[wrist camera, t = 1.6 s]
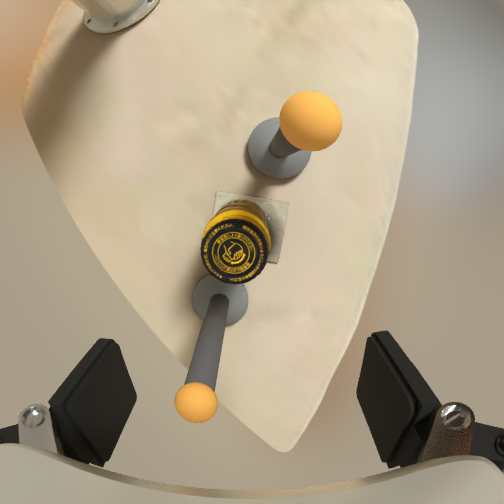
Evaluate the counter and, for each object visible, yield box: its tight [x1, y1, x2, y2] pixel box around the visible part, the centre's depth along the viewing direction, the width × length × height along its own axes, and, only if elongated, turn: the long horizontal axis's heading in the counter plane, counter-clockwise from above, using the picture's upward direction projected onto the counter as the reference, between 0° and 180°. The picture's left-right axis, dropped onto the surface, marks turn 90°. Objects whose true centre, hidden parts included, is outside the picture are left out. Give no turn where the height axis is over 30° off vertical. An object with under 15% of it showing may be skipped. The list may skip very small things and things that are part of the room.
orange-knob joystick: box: [175, 274, 248, 423], centre depth 26 cm, size 7×7×20 cm
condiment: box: [201, 191, 289, 284], centre depth 27 cm, size 7×8×12 cm
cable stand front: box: [248, 91, 342, 179], centre depth 21 cm, size 7×7×20 cm
